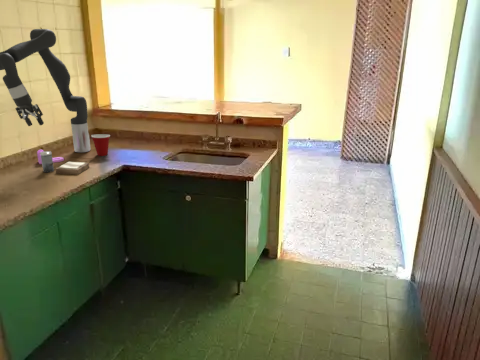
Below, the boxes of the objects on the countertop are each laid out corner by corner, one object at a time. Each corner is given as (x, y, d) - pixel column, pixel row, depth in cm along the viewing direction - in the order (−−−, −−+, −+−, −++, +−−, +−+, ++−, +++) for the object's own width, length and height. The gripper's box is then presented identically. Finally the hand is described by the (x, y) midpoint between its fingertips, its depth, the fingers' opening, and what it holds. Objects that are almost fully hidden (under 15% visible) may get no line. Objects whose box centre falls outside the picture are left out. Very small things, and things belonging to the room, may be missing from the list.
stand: (68, 166, 225) (67, 161, 224) (89, 167, 224) (88, 162, 223) (56, 173, 214) (55, 167, 213) (77, 174, 213) (77, 168, 212)
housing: (46, 169, 221) (44, 150, 217) (56, 169, 220) (53, 151, 217) (40, 172, 216) (37, 153, 212) (50, 172, 215) (47, 154, 212)
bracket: (39, 164, 228) (37, 152, 226) (38, 161, 233) (36, 150, 231) (64, 161, 234) (63, 149, 232) (63, 158, 239) (61, 147, 237)
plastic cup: (114, 152, 252) (113, 133, 248) (107, 157, 242) (105, 137, 238) (97, 151, 253) (95, 132, 249) (90, 156, 243) (87, 136, 239)
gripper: (35, 90, 199) (51, 121, 208) (16, 93, 206) (32, 122, 214) (23, 96, 194) (40, 127, 202) (4, 99, 200) (21, 129, 208)
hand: (36, 125), depth 208 cm, fingers open, 8 cm apart
